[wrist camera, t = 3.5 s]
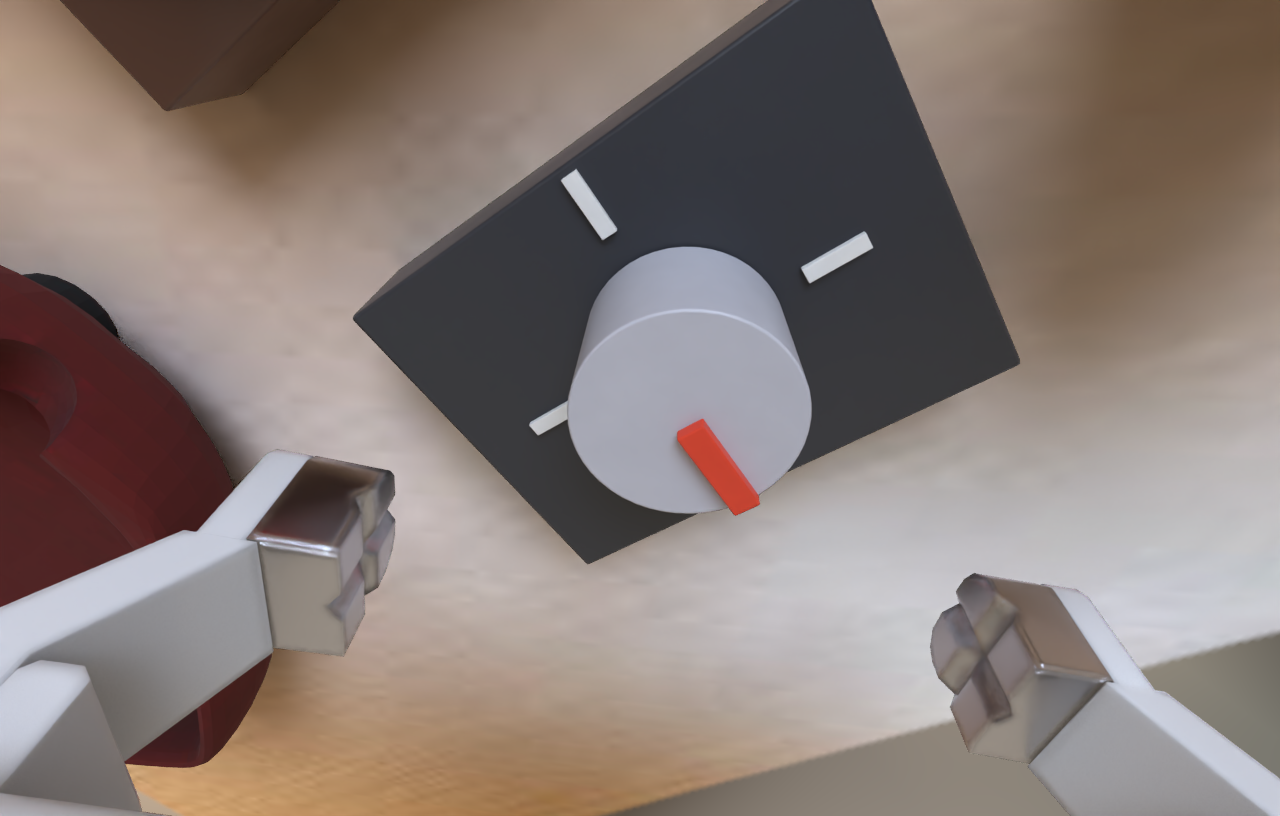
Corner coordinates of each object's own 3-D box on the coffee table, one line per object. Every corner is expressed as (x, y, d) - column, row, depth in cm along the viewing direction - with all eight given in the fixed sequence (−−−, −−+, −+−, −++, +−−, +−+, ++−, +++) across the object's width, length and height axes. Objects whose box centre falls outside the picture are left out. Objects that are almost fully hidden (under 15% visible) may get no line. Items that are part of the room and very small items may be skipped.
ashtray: (150, 715, 29) (59, 840, 24) (-281, 461, 22) (-512, 573, 17) (450, 561, 23) (399, 690, 19) (-8, 146, 16) (-255, 201, 12)
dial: (546, 314, 14) (512, 398, 11) (721, 203, 13) (736, 266, 10) (655, 453, 16) (652, 556, 13) (820, 369, 15) (857, 463, 12)
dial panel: (819, -38, 13) (856, -47, 11) (971, 310, 17) (1026, 368, 14) (397, 270, 17) (346, 322, 14) (597, 497, 21) (586, 570, 18)
